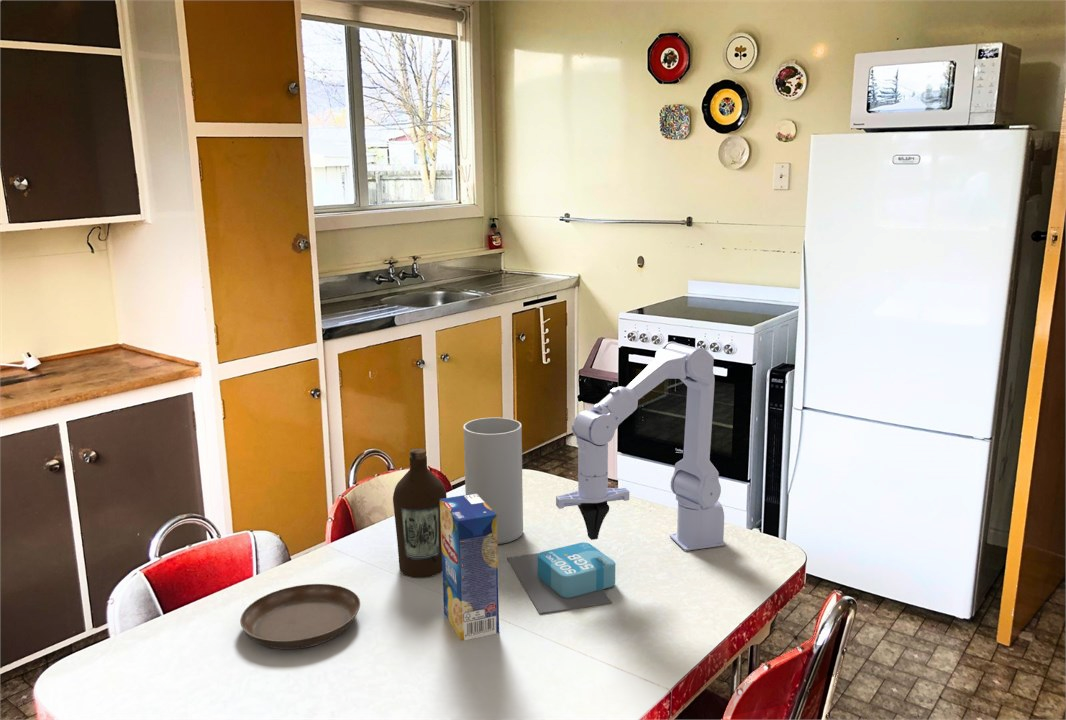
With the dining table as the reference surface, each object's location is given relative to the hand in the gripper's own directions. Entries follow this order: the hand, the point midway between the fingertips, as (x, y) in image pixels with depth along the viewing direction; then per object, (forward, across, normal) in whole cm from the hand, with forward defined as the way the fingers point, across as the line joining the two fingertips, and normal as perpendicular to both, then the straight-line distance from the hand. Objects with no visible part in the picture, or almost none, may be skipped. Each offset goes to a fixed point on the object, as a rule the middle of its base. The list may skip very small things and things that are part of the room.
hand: (592, 537), depth 170 cm
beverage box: (+8, +27, +11) cm, 30 cm away
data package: (+5, -2, 0) cm, 6 cm away
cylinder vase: (+8, +14, -25) cm, 30 cm away
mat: (+8, +8, 0) cm, 11 cm away
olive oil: (+8, +32, -13) cm, 35 cm away
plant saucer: (+8, +56, +3) cm, 57 cm away
